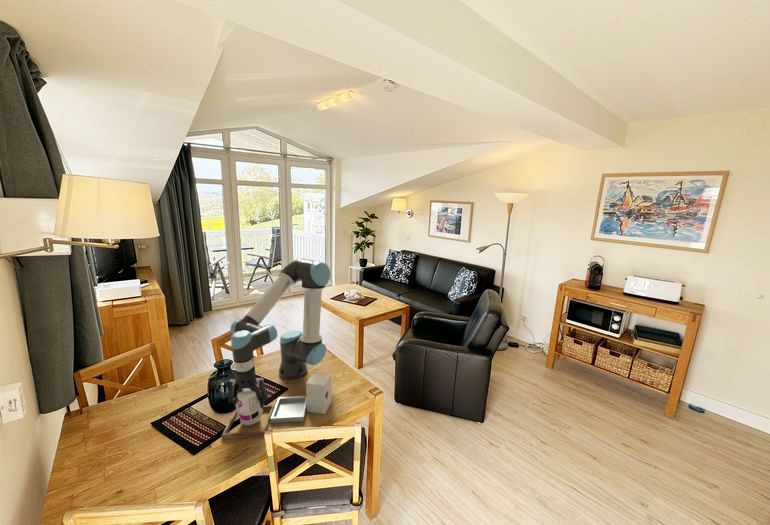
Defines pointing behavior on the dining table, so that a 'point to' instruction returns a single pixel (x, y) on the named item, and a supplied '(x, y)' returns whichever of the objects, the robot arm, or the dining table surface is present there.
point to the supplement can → (248, 407)
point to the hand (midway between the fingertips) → (250, 413)
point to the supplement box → (318, 393)
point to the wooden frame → (247, 434)
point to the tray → (289, 409)
